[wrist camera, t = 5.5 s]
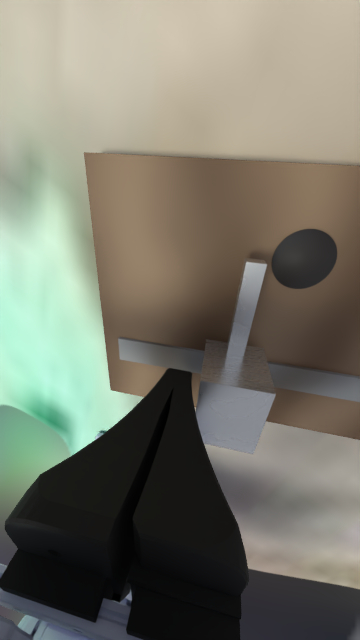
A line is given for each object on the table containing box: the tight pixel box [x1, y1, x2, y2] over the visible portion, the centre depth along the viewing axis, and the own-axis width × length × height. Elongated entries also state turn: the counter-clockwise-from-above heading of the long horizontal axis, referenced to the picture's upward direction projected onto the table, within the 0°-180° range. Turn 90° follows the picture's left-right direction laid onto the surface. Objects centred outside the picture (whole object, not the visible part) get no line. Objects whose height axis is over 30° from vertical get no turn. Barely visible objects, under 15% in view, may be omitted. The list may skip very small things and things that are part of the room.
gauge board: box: [84, 153, 360, 440], centre depth 10 cm, size 24×14×6 cm, turn 86°
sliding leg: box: [196, 258, 276, 454], centre depth 10 cm, size 3×8×3 cm, turn 176°
